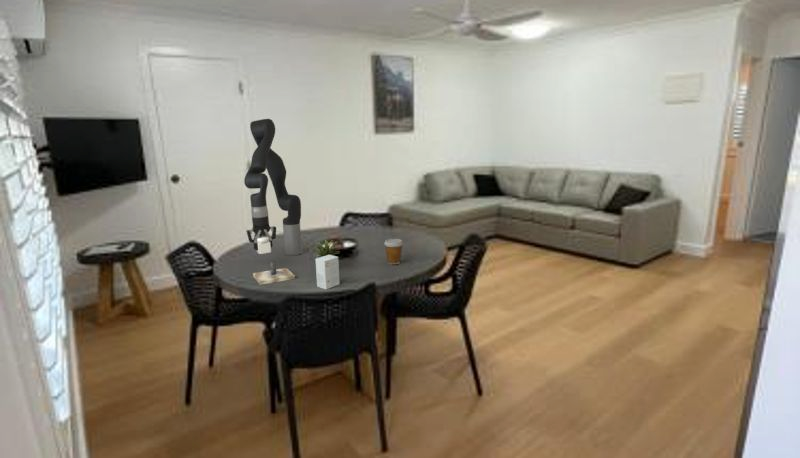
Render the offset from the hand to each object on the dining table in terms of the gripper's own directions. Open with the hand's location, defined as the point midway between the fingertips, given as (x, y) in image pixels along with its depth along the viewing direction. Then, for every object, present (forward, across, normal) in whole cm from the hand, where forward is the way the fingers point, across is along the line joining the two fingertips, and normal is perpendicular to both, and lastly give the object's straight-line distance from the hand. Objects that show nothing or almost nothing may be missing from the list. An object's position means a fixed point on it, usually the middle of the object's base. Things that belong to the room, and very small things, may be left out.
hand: (263, 248), depth 216 cm
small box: (+12, -18, +36) cm, 42 cm away
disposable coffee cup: (+13, -60, +23) cm, 65 cm away
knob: (+1, 0, 0) cm, 1 cm away
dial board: (+11, -1, +12) cm, 16 cm away
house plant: (+12, -25, +18) cm, 33 cm away
